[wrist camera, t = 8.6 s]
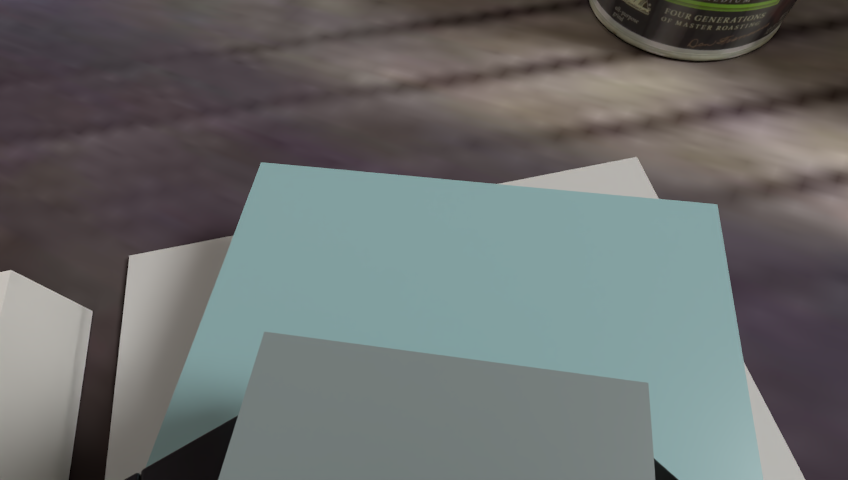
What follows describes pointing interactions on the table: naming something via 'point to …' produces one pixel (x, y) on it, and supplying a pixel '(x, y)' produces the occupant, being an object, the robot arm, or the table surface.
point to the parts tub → (39, 378)
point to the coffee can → (693, 25)
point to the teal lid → (467, 336)
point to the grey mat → (190, 292)
